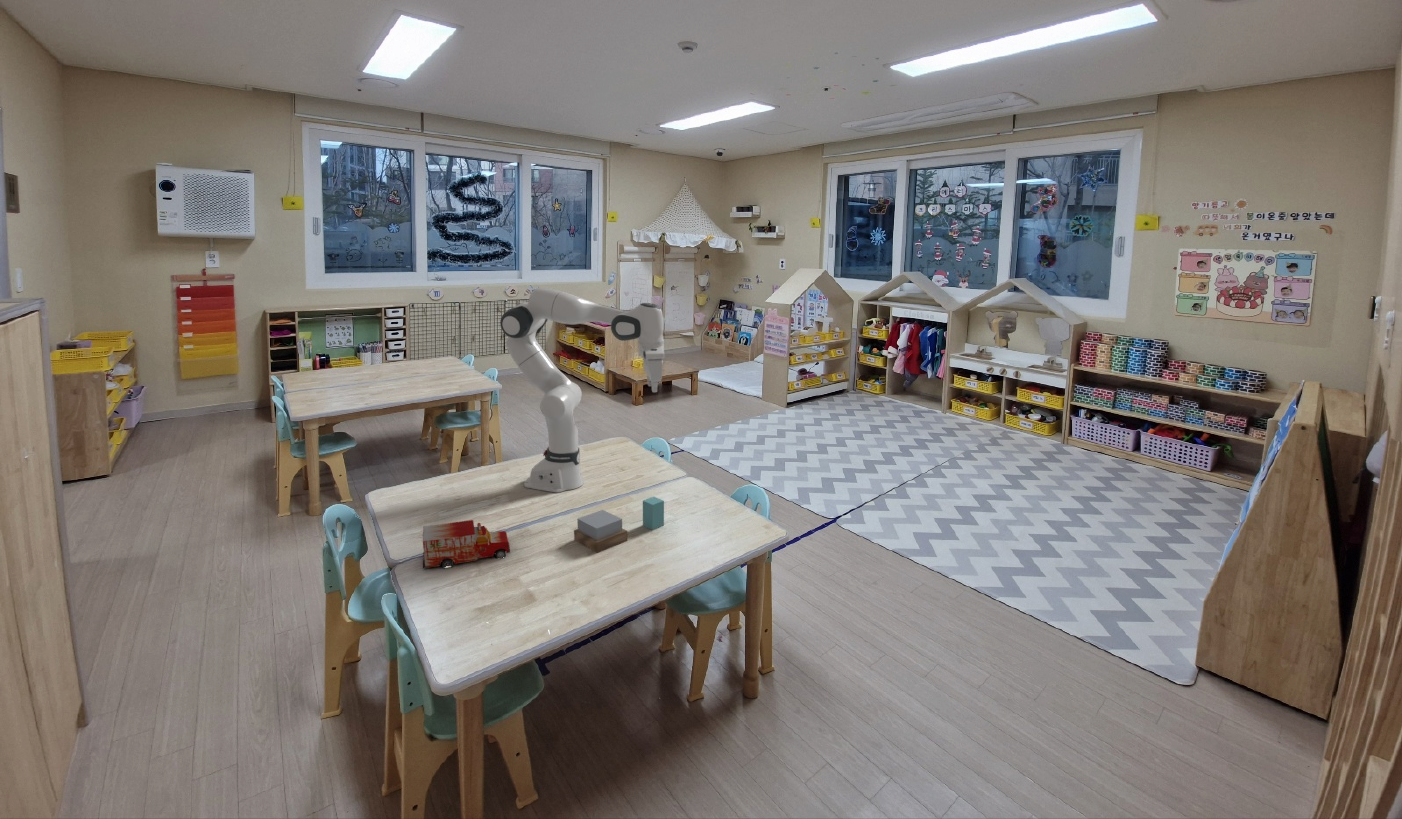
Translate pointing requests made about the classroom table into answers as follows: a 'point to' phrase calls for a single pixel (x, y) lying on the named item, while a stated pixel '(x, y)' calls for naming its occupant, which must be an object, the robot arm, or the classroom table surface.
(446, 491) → the classroom table surface
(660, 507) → the teal column
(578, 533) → the walnut slab
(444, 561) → the red box-shaped vehicle
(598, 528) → the grey slab
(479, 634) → the classroom table surface
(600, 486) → the classroom table surface
